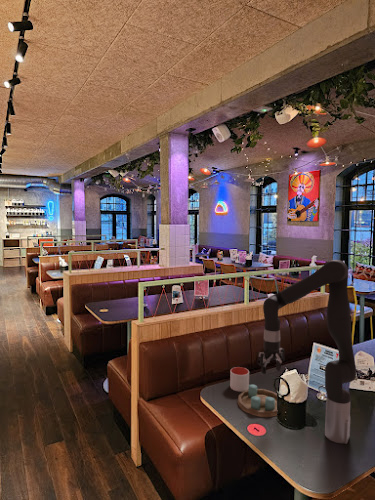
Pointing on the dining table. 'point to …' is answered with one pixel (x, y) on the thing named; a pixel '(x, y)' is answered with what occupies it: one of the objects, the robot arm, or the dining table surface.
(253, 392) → the bead
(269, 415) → the tray
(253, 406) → the bead
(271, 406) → the bead
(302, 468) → the dining table surface
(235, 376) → the cup
